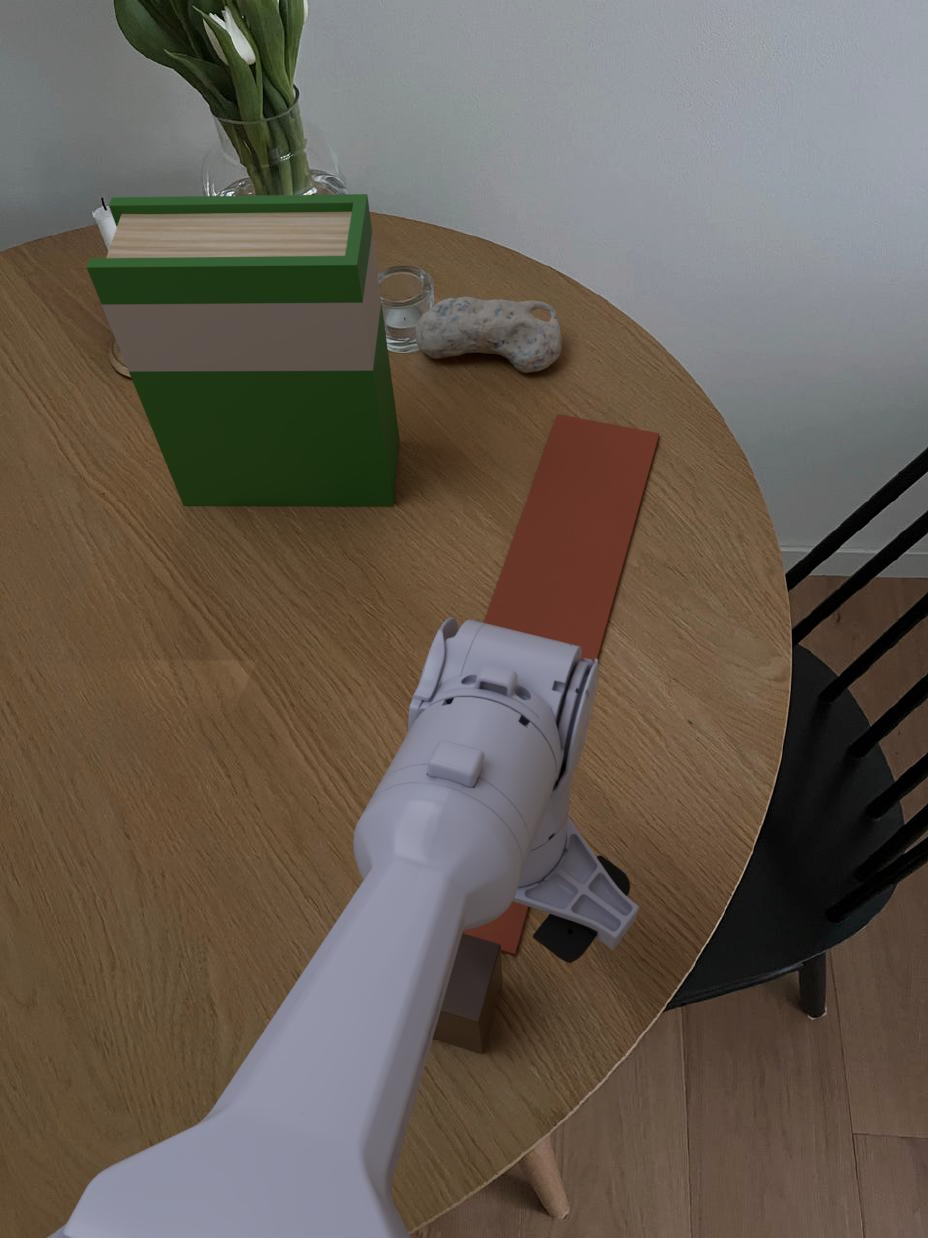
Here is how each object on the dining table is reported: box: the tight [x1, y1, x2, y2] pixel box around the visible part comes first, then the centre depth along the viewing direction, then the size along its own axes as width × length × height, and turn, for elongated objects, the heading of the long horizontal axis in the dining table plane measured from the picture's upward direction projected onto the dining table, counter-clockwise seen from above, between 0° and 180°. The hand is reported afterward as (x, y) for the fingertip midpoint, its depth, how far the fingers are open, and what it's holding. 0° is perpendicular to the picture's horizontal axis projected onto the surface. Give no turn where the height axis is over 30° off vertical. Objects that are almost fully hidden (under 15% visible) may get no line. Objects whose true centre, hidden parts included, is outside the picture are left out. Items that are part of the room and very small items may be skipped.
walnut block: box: [432, 933, 503, 1055], centre depth 62 cm, size 4×4×8 cm
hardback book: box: [86, 193, 401, 507], centre depth 80 cm, size 18×7×24 cm, turn 88°
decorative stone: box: [414, 296, 563, 374], centre depth 95 cm, size 13×7×5 cm, turn 89°
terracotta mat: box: [463, 413, 660, 956], centre depth 79 cm, size 46×9×1 cm, turn 163°
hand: (510, 895), depth 61 cm, fingers open, 7 cm apart
